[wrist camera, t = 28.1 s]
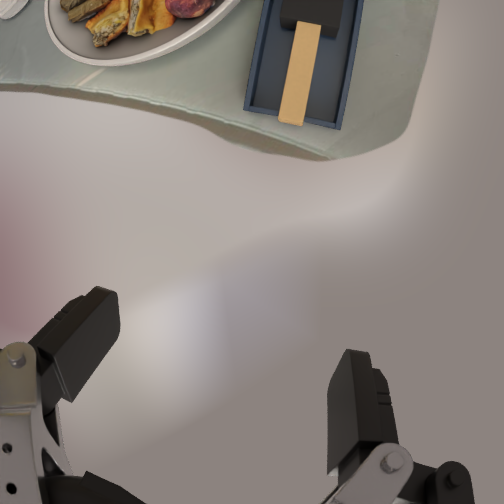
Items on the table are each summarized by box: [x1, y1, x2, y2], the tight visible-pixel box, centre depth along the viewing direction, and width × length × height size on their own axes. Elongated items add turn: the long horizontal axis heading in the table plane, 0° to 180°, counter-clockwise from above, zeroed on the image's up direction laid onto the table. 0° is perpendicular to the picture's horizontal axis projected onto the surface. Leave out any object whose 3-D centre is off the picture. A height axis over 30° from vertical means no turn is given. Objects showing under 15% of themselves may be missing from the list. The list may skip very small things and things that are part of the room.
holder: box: [243, 0, 364, 130], centre depth 26 cm, size 10×21×3 cm, turn 170°
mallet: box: [278, 0, 344, 126], centre depth 26 cm, size 6×18×3 cm, turn 170°
